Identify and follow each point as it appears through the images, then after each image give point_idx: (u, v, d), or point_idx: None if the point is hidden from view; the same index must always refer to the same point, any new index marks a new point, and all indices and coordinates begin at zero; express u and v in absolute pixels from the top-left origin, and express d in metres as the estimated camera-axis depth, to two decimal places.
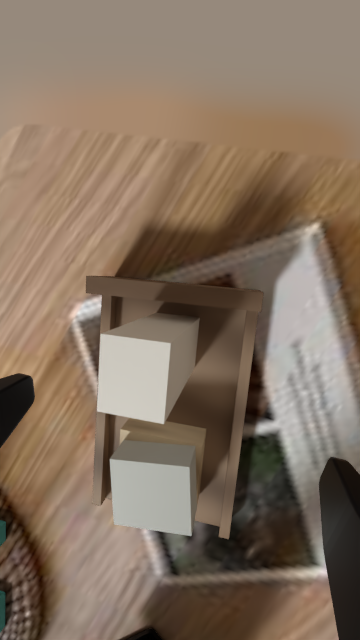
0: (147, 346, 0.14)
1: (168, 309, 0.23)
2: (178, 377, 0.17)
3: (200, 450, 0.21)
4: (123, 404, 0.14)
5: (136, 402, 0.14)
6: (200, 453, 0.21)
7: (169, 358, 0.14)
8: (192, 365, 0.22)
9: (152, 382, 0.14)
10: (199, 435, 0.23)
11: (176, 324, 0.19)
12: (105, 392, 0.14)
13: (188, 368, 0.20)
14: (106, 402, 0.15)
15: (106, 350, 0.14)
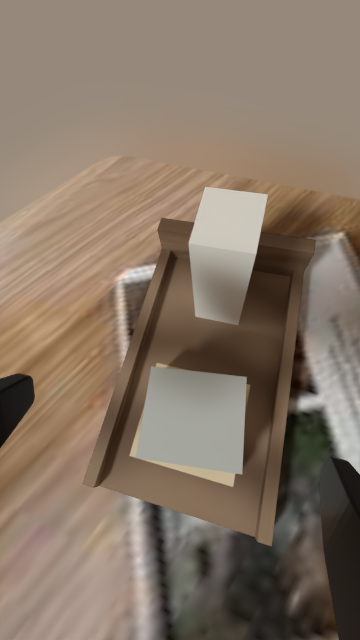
0: (246, 196, 0.16)
1: None
2: None
3: (247, 390, 0.19)
4: (217, 237, 0.15)
5: (230, 236, 0.15)
6: (247, 394, 0.19)
7: (265, 205, 0.16)
8: None
9: (248, 220, 0.15)
10: None
11: None
12: (200, 228, 0.16)
13: None
14: (200, 236, 0.15)
15: (208, 198, 0.16)
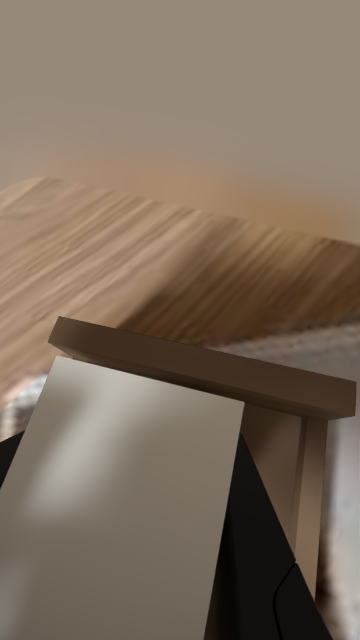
0: (175, 402, 0.05)
1: None
2: None
3: None
4: (48, 608, 0.04)
5: (97, 606, 0.04)
6: None
7: (235, 449, 0.05)
8: None
9: (170, 526, 0.04)
10: None
11: None
12: (2, 546, 0.04)
13: None
14: None
15: (56, 402, 0.05)
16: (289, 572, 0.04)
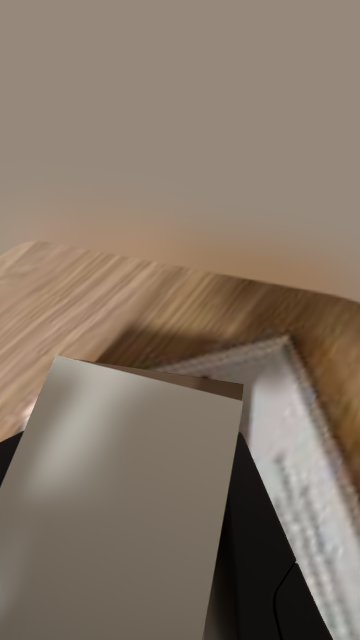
0: (174, 401, 0.05)
1: None
2: None
3: None
4: (48, 607, 0.04)
5: (97, 605, 0.04)
6: None
7: (234, 448, 0.05)
8: None
9: (169, 525, 0.04)
10: None
11: None
12: (1, 545, 0.04)
13: None
14: None
15: (55, 401, 0.05)
16: (289, 572, 0.04)
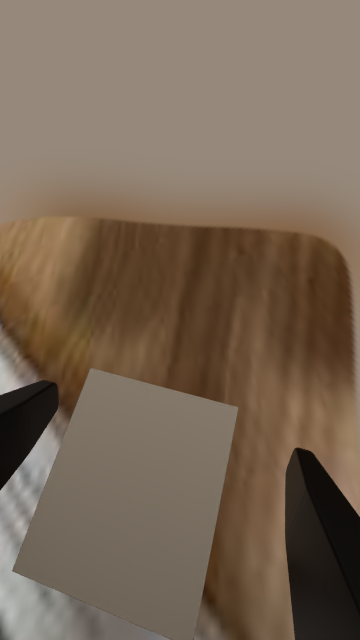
0: (184, 406, 0.06)
1: None
2: None
3: None
4: (90, 558, 0.05)
5: (127, 557, 0.05)
6: None
7: (230, 443, 0.06)
8: None
9: (181, 499, 0.06)
10: None
11: None
12: (54, 513, 0.06)
13: None
14: (48, 544, 0.06)
15: (91, 405, 0.07)
16: None
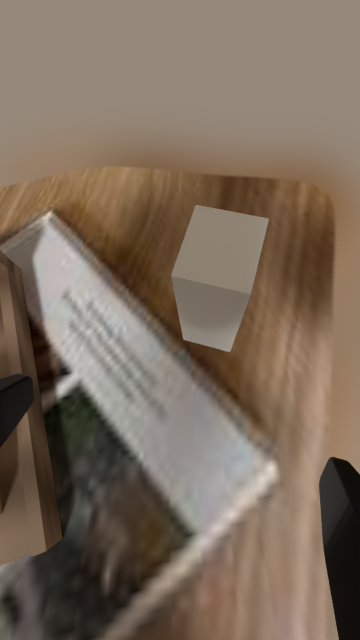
0: (243, 218, 0.14)
1: None
2: None
3: None
4: (205, 270, 0.13)
5: (221, 269, 0.13)
6: None
7: (265, 232, 0.13)
8: None
9: (243, 251, 0.13)
10: None
11: None
12: (186, 257, 0.13)
13: None
14: (185, 267, 0.13)
15: (198, 219, 0.14)
16: None
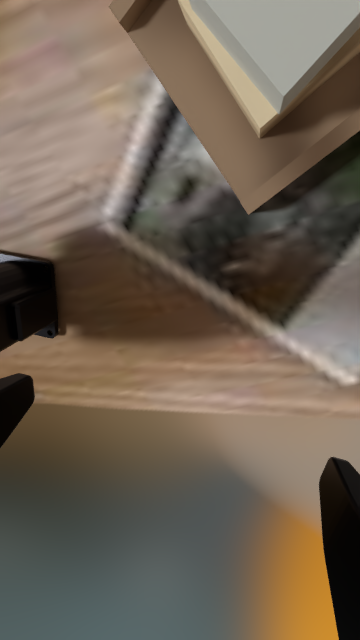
0: None
1: None
2: None
3: None
4: None
5: None
6: None
7: None
8: None
9: None
10: None
11: None
12: None
13: None
14: None
15: None
16: None
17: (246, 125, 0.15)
